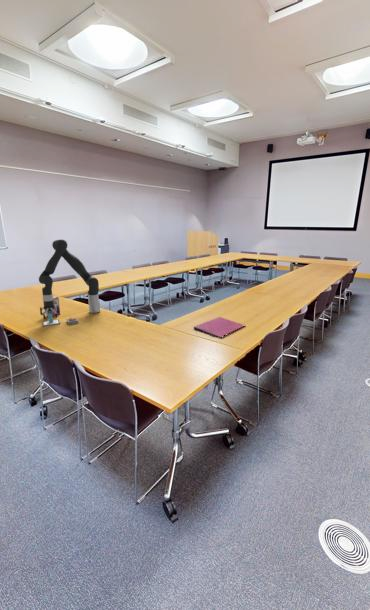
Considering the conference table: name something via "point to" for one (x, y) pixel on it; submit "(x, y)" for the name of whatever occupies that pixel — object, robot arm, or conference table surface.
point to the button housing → (72, 321)
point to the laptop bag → (218, 327)
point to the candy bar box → (56, 302)
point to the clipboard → (51, 323)
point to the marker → (50, 316)
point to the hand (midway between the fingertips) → (50, 318)
